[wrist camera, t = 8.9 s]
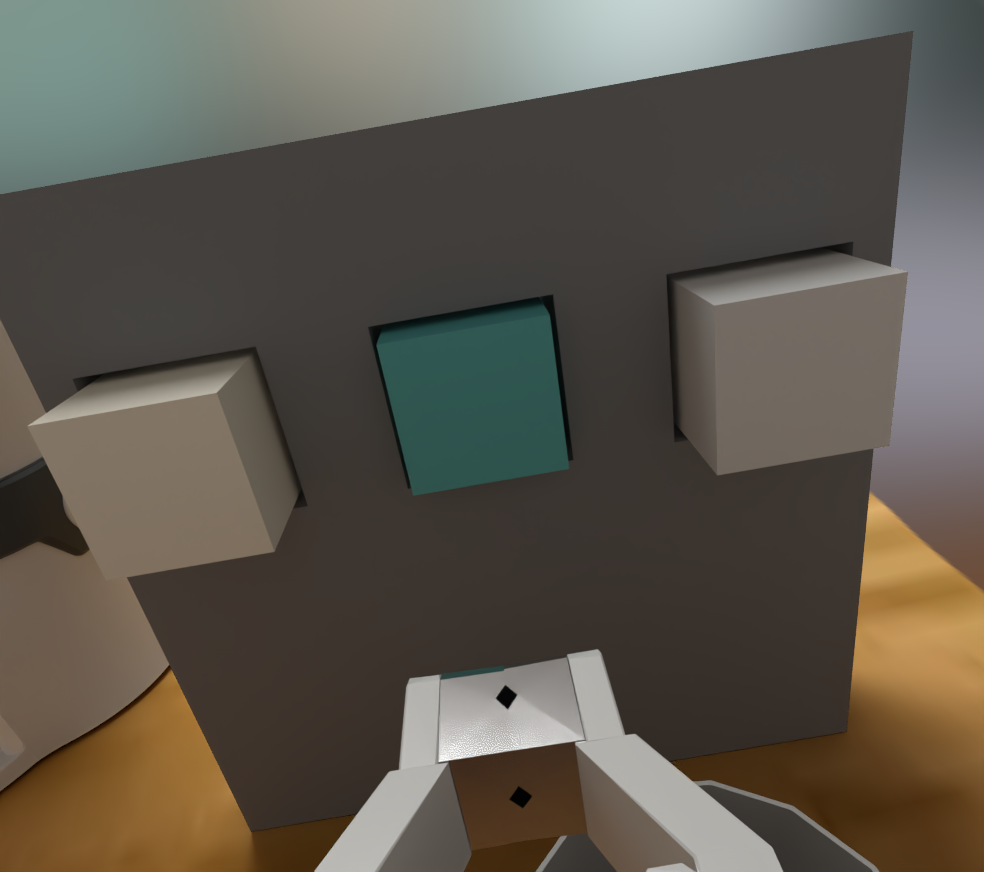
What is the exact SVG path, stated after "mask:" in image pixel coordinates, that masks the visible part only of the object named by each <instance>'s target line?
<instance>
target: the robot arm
mask: <svg viewBox="0 0 984 872" xmlns="http://www.w3.org/2000/svg"><path fill="white" fill-rule="evenodd" d="M44 414H46V412H45V410H44V408H43V406H42V403H41V401H40V399H39V397H38V395H37V393H36V391H35V389H34V387H33V385H32V383H31V381H30V379H29V377H28V375H27V373H26V371H25V369H24V367H23V365H22V363H21V361H20V359H19V357H18V354H17V352H16V350H15V348H14V346H13V344H12V342H11V340H10V338H9V336H8V334H7V332H6V330H5V328H4V326H3V324H2V322H1V320H0V791H1V790H3V789H4V788H5V787H6V786H8V785H9V784H10V783H12V782H13V781H14V780H15V779H17V778H18V777H19V776H20V775H22V774H23V773H24V772H25V771H27V770H28V769H29V768H30V767H31V766H33V765H34V764H35V763H36V762H37V761H39V760H40V759H42V758H43V757H45V756H46V755H48V754H49V753H51V752H53V751H54V750H56V749H58V748H59V747H61V746H63V745H65V744H67V743H69V742H70V741H72V740H74V739H76V738H78V737H79V736H81V735H83V734H85V733H87V732H88V731H90V730H92V729H93V728H95V727H97V726H98V725H100V724H101V723H103V722H104V721H106V720H107V719H109V718H110V717H112V716H113V715H115V714H116V713H117V712H119V711H120V710H121V709H123V708H124V707H125V706H127V705H128V704H129V703H131V702H132V701H133V700H134V699H136V698H137V697H138V696H139V695H140V694H141V693H142V692H144V691H145V690H146V689H147V688H148V687H149V686H150V685H151V684H152V683H153V682H154V681H155V680H156V679H157V678H158V677H159V676H160V675H161V674H162V673H163V672H164V670H165V669H166V668H167V667H168V666H169V663H168V661H167V659H166V657H165V655H164V653H163V651H162V648H161V646H160V644H159V642H158V640H157V638H156V636H155V634H154V632H153V630H152V628H151V626H150V624H149V622H148V620H147V618H146V616H145V614H144V612H143V610H142V608H141V606H140V604H139V602H138V599H137V597H136V595H135V593H134V591H133V589H132V587H131V585H130V583H129V581H128V579H127V577H126V578H120V579H114V580H108V581H106V580H105V578H104V576H103V574H102V572H101V570H100V568H99V566H98V564H97V562H96V560H95V558H94V556H93V554H92V552H91V550H90V549H89V547H88V545H87V543H86V541H85V539H84V537H83V535H82V533H81V531H80V529H79V527H78V525H77V523H76V521H75V519H74V517H73V515H72V513H71V511H70V509H69V507H68V505H67V503H66V501H65V499H64V497H63V495H62V493H61V491H60V489H59V487H58V485H57V484H56V482H55V480H54V478H53V476H52V474H51V472H50V470H49V468H48V466H47V464H46V462H45V460H44V458H43V456H42V454H41V452H40V450H39V448H38V446H37V444H36V442H35V440H34V438H33V436H32V434H31V432H30V430H29V428H28V425H30V424H31V423H33V422H34V421H36V420H37V419H39V418H40V417H41V416H43V415H44ZM584 833H588V837H589V838H590V839H591V840H592V842H593V843H594V844H595V845H596V847H597V848H598V849H599V850H600V851H601V853H602V854H603V855H604V856H605V858H606V859H607V860H608V861H609V863H610V864H611V865H612V866H613V868H614V869H615V870H616V871H617V872H783V870H782V868H781V866H780V863H779V861H778V859H777V857H776V855H775V852H774V850H773V848H772V847H771V846H770V845H769V844H768V843H767V842H765V841H764V840H763V839H762V838H760V837H759V836H758V835H757V834H756V833H754V832H753V831H752V830H751V829H750V828H748V827H747V826H746V825H745V824H744V823H742V822H741V821H740V820H739V819H738V818H736V817H735V816H734V815H733V814H732V813H730V812H729V811H728V810H727V809H726V808H724V807H723V806H722V805H721V804H719V803H718V802H717V801H716V800H715V799H713V798H712V797H711V796H710V795H709V794H707V793H706V792H705V791H704V790H703V789H701V788H700V787H699V786H698V785H697V784H695V783H694V782H693V781H692V780H691V779H689V778H688V777H687V776H686V775H684V774H683V773H682V772H681V771H680V770H678V769H677V768H676V767H675V766H674V765H672V764H671V763H670V762H669V761H668V760H666V759H665V758H664V757H663V756H662V755H660V754H659V753H658V752H657V751H656V750H654V749H653V748H652V747H651V746H650V745H648V744H647V743H646V742H645V741H643V740H642V739H641V738H640V737H639V736H637V735H636V734H630V735H625V732H624V729H623V725H622V722H621V718H620V715H619V712H618V708H617V705H616V701H615V698H614V695H613V691H612V688H611V684H610V681H609V677H608V674H607V671H606V667H605V664H604V660H603V657H602V654H601V652H600V651H599V650H598V649H597V650H591V651H585V652H579V653H573V654H567V657H566V655H563V656H557V657H551V658H545V659H538V660H532V661H526V662H520V663H514V664H508V665H504V666H497V667H489V668H481V669H474V670H466V671H458V672H451V673H443V674H442V675H434V676H426V677H417V678H410V679H409V681H408V684H407V686H406V696H405V707H404V718H403V729H402V740H401V751H400V762H399V770H395V771H390V772H388V774H387V775H386V776H385V778H384V779H383V780H382V782H381V783H380V784H379V786H378V787H377V788H376V790H375V791H374V792H373V794H372V795H371V796H370V798H369V799H368V800H367V802H366V803H365V804H364V806H363V807H362V808H361V810H360V811H359V812H358V814H357V815H356V816H355V818H354V819H353V820H352V822H351V823H350V824H349V826H348V827H347V828H346V830H345V831H344V832H343V834H342V835H341V836H340V838H339V839H338V840H337V842H336V843H335V844H334V846H333V847H332V848H331V850H330V851H329V852H328V854H327V855H326V856H325V858H324V859H323V860H322V862H321V863H320V864H319V866H318V867H317V868H316V870H315V871H314V872H464V870H465V868H466V866H467V864H468V862H469V860H470V857H471V855H472V854H471V851H472V850H478V849H483V848H489V847H494V846H499V845H505V844H510V843H516V842H521V841H527V840H534V839H542V838H551V837H559V836H567V835H575V834H584Z"/></svg>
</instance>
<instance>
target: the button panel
mask: <svg viewBox="0 0 984 872" xmlns="http://www.w3.org/2000/svg"><path fill="white" fill-rule="evenodd" d="M912 38H913V31H910V32H905V33H899V34H894V35H888V36H883V37H877V38H871V39H866V40H860V41H854V42H849V43H843V44H838V45H832V46H826V47H821V48H815V49H810V50H804V51H799V52H793V53H787V54H782V55H776V56H771V57H765V58H759V59H754V60H749V61H743V62H737V63H732V64H726V65H721V66H715V67H709V68H704V69H698V70H692V71H687V72H681V73H676V74H670V75H664V76H659V77H653V78H648V79H642V80H637V81H631V82H625V83H620V84H614V85H609V86H603V87H598V88H592V89H586V90H581V91H575V92H570V93H564V94H558V95H553V96H547V97H542V98H536V99H531V100H525V101H519V102H514V103H508V104H503V105H497V106H492V107H486V108H480V109H475V110H469V111H464V112H458V113H452V114H447V115H441V116H436V117H430V118H425V119H419V120H414V121H408V122H402V123H397V124H391V125H385V126H381V127H374V128H369V129H363V130H358V131H352V132H346V133H341V134H335V135H329V136H324V137H319V138H313V139H307V140H302V141H296V142H290V143H285V144H279V145H274V146H268V147H263V148H257V149H251V150H246V151H240V152H235V153H229V154H224V155H218V156H212V157H207V158H201V159H196V160H190V161H184V162H180V163H173V164H168V165H162V166H157V167H151V168H145V169H140V170H135V171H129V172H123V173H117V174H112V175H106V176H101V177H96V178H89V179H84V180H78V181H73V182H67V183H62V184H56V185H51V186H45V187H40V188H34V189H28V190H22V191H18V192H11V193H6V194H0V320H1V322H2V324H3V326H4V328H5V330H6V332H7V334H8V336H9V338H10V340H11V342H12V344H13V346H14V348H15V350H16V352H17V354H18V357H19V359H20V361H21V363H22V365H23V367H24V369H25V371H26V373H27V375H28V377H29V379H30V381H31V383H32V385H33V387H34V389H35V391H36V393H37V395H38V397H39V399H40V401H41V403H42V406H43V408H44V410H45V412H46V413H47V412H49V411H50V410H52V409H53V408H55V407H56V406H58V405H59V404H61V403H62V402H64V401H65V400H67V399H68V398H70V397H71V396H73V395H74V394H76V393H77V392H79V391H80V390H82V389H83V388H85V387H86V386H87V385H89V384H90V383H92V382H93V381H95V380H96V379H98V378H99V377H101V376H102V375H104V374H105V373H108V372H114V371H120V370H125V369H131V368H137V367H142V366H148V365H154V364H160V363H165V362H171V361H177V360H182V359H188V358H194V357H199V356H205V355H211V354H216V353H222V352H228V351H233V350H239V349H245V348H250V347H256V349H257V352H258V355H259V358H260V361H261V364H262V367H263V370H264V373H265V377H266V380H267V383H268V386H269V389H270V392H271V395H272V398H273V401H274V404H275V407H276V410H277V413H278V416H279V419H280V422H281V425H282V429H283V432H284V435H285V438H286V441H287V444H288V447H289V450H290V453H291V456H292V459H293V462H294V465H295V468H296V471H297V474H298V477H299V481H300V484H301V487H302V488H301V491H300V493H299V495H298V498H297V500H296V502H295V505H294V507H293V510H292V512H291V514H290V517H289V519H288V521H287V524H286V526H285V528H284V531H283V533H282V535H281V538H280V540H279V543H278V545H277V547H276V550H275V552H271V553H265V554H259V555H253V556H247V557H242V558H236V559H230V560H224V561H218V562H213V563H207V564H201V565H195V566H189V567H184V568H178V569H172V570H166V571H161V572H155V573H149V574H143V575H137V576H132V577H127V579H128V581H129V583H130V585H131V587H132V589H133V591H134V593H135V595H136V597H137V599H138V602H139V604H140V606H141V608H142V610H143V612H144V614H145V616H146V618H147V620H148V622H149V624H150V626H151V628H152V630H153V632H154V634H155V636H156V638H157V640H158V642H159V644H160V646H161V648H162V651H163V653H164V655H165V657H166V659H167V661H168V663H169V665H170V667H171V669H172V671H173V673H174V675H175V677H176V679H177V681H178V683H179V685H180V687H181V689H182V691H183V693H184V695H185V697H186V699H187V702H188V704H189V706H190V708H191V710H192V712H193V714H194V716H195V718H196V720H197V722H198V724H199V726H200V728H201V730H202V732H203V734H204V736H205V738H206V740H207V742H208V744H209V746H210V748H211V751H212V753H213V755H214V757H215V759H216V761H217V763H218V765H219V767H220V769H221V771H222V773H223V775H224V777H225V779H226V781H227V783H228V785H229V787H230V789H231V791H232V793H233V795H234V797H235V800H236V802H237V804H238V806H239V808H240V810H241V812H242V814H243V816H244V818H245V820H246V822H247V824H248V826H249V828H250V830H251V831H257V830H263V829H269V828H275V827H281V826H287V825H293V824H299V823H305V822H311V821H317V820H323V819H329V818H335V817H341V816H347V815H353V814H358V812H359V811H360V810H361V808H362V807H363V806H364V804H365V803H366V802H367V800H368V799H369V798H370V796H371V795H372V794H373V792H374V791H375V790H376V788H377V787H378V786H379V784H380V783H381V782H382V780H383V779H384V778H385V776H386V775H387V774H388V772H390V771H395V770H399V762H400V751H401V740H402V729H403V718H404V707H405V696H406V686H407V684H408V681H409V679H410V678H417V677H426V676H434V675H442V674H443V673H451V672H458V671H466V670H474V669H481V668H489V667H497V666H504V665H508V664H514V663H520V662H526V661H532V660H538V659H545V658H551V657H557V656H563V655H566V657H567V654H573V653H579V652H585V651H591V650H597V649H598V650H599V651H600V652H601V654H602V657H603V660H604V664H605V667H606V671H607V674H608V677H609V681H610V684H611V688H612V691H613V695H614V698H615V701H616V705H617V708H618V712H619V715H620V718H621V722H622V725H623V729H624V732H625V735H630V734H636V735H637V736H639V737H640V738H641V739H642V740H643V741H645V742H646V743H647V744H648V745H650V746H651V747H652V748H653V749H654V750H656V751H657V752H658V753H659V754H660V755H662V756H663V757H664V758H665V759H666V760H668V761H674V760H680V759H686V758H692V757H698V756H704V755H710V754H716V753H722V752H728V751H734V750H739V749H745V748H751V747H757V746H763V745H769V744H775V743H781V742H787V741H793V740H799V739H805V738H811V737H817V736H823V735H829V734H835V733H841V732H846V731H847V720H848V710H849V699H850V689H851V678H852V668H853V657H854V647H855V637H856V626H857V616H858V605H859V595H860V584H861V574H862V563H863V553H864V542H865V532H866V521H867V511H868V500H869V489H870V479H871V468H872V457H873V449H868V450H862V451H856V452H850V453H845V454H839V455H833V456H827V457H821V458H816V459H810V460H804V461H798V462H792V463H787V464H781V465H775V466H769V467H763V468H758V469H752V470H746V471H740V472H734V473H729V474H723V475H717V474H716V473H715V472H714V471H713V469H712V468H711V467H710V466H709V465H708V463H707V462H706V461H705V460H704V458H703V457H702V456H701V455H700V453H699V452H698V451H697V450H696V448H695V447H694V446H693V445H692V444H691V442H690V441H689V440H688V439H687V437H686V436H685V435H684V434H683V432H682V431H681V430H680V429H679V427H678V426H677V425H676V424H675V423H674V421H673V402H672V382H671V361H670V340H669V319H668V299H667V278H666V274H671V273H677V272H683V271H688V270H694V269H700V268H705V267H711V266H717V265H722V264H728V263H734V262H739V261H745V260H751V259H756V258H762V257H768V256H774V255H779V254H785V253H791V252H796V251H802V250H808V249H813V248H819V247H822V248H825V249H829V250H832V251H836V252H839V253H843V254H847V255H850V256H854V257H857V258H861V259H864V260H868V261H871V262H875V263H879V264H882V265H886V266H889V267H891V258H892V248H893V238H894V227H895V217H896V207H897V206H896V205H897V196H898V195H897V194H898V185H899V175H900V165H901V154H902V143H903V133H904V122H905V112H906V102H907V90H908V80H909V70H910V60H911V49H912ZM535 297H540V299H541V301H542V303H543V304H544V306H545V308H546V309H547V311H548V313H549V314H550V321H551V329H552V337H553V345H554V352H555V360H556V368H557V376H558V384H559V392H560V400H561V408H562V416H563V424H564V432H565V440H566V447H567V455H568V463H569V469H566V470H560V471H554V472H548V473H542V474H537V475H531V476H525V477H519V478H514V479H508V480H502V481H496V482H490V483H485V484H479V485H473V486H467V487H462V488H456V489H450V490H444V491H438V492H433V493H427V494H421V495H415V496H413V492H412V488H411V484H410V480H409V476H408V472H407V468H406V464H405V460H404V456H403V452H402V448H401V444H400V440H399V435H398V431H397V427H396V423H395V419H394V415H393V411H392V407H391V403H390V399H389V395H388V391H387V387H386V383H385V378H384V374H383V370H382V366H381V362H380V358H379V354H378V350H377V346H376V345H377V342H378V339H379V336H380V333H381V331H382V328H383V325H384V324H387V323H393V322H398V321H404V320H410V319H415V318H421V317H427V316H432V315H438V314H444V313H449V312H455V311H461V310H467V309H472V308H478V307H484V306H489V305H495V304H501V303H506V302H512V301H518V300H523V299H529V298H535Z"/></svg>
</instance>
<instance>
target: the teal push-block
mask: <svg viewBox="0 0 984 872" xmlns="http://www.w3.org/2000/svg"><path fill="white" fill-rule="evenodd" d="M376 346H377V350H378V354H379V358H380V362H381V366H382V370H383V374H384V378H385V383H386V387H387V391H388V395H389V399H390V403H391V407H392V411H393V415H394V419H395V423H396V427H397V431H398V435H399V440H400V444H401V448H402V452H403V456H404V460H405V464H406V468H407V472H408V476H409V480H410V484H411V488H412V492H413V496H415V495H421V494H427V493H433V492H438V491H444V490H450V489H456V488H462V487H467V486H473V485H479V484H485V483H490V482H496V481H502V480H508V479H514V478H519V477H525V476H531V475H537V474H542V473H548V472H554V471H560V470H566V469H569V463H568V455H567V447H566V440H565V432H564V424H563V416H562V408H561V400H560V392H559V384H558V376H557V368H556V360H555V352H554V345H553V337H552V329H551V321H550V314H549V313H548V311H547V309H546V308H545V306H544V304H543V303H542V301H541V299H540V297H535V298H529V299H523V300H518V301H512V302H506V303H501V304H495V305H489V306H484V307H478V308H472V309H467V310H461V311H455V312H449V313H444V314H438V315H432V316H427V317H421V318H415V319H410V320H404V321H398V322H393V323H387V324H384V325H383V328H382V331H381V333H380V336H379V339H378V342H377V345H376Z"/></svg>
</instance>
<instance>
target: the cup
mask: <svg viewBox="0 0 984 872" xmlns="http://www.w3.org/2000/svg"><path fill="white" fill-rule="evenodd" d="M694 783H695V784H697V785H698V786H699V787H700V788H701V789H703V790H704V791H705V792H706V793H707V794H709V795H710V796H711V797H712V798H713V799H715V800H716V801H717V802H718V803H719V804H721V805H722V806H723V807H724V808H726V809H727V810H728V811H729V812H730V813H732V814H733V815H734V816H735V817H736V818H738V819H739V820H740V821H741V822H742V823H744V824H745V825H746V826H747V827H748V828H750V829H751V830H752V831H753V832H754V833H756V834H757V835H758V836H759V837H760V838H762V839H763V840H764V841H765V842H767V843H768V844H769V845H770V846H771V847H772V848H773V850H774V852H775V855H776V857H777V859H778V861H779V863H780V866H781V868H782V870H783V872H879V870H878V869H877V868H876V866H874V865H873V864H872V863H870V862H869V861H868V860H866V859H865V858H864V857H862V856H861V855H859V854H858V853H857V852H855V851H854V850H853V849H851V848H850V847H848V846H847V845H846V844H844V843H843V842H842V841H840V840H839V839H838V838H836V837H835V836H833V835H832V834H831V833H829V832H828V831H827V830H825V829H824V828H823V827H821V826H820V825H818V824H817V823H816V822H814V821H813V820H812V819H810V818H809V817H807V816H806V815H805V814H803V813H802V812H801V811H799V810H798V809H797V808H795V807H794V806H792V805H789V804H785V803H782V802H779V801H776V800H773V799H769V798H766V797H763V796H760V795H757V794H753V793H750V792H747V791H744V790H741V789H737V788H734V787H731V786H728V785H725V784H721V783H718V782H715V781H712V780H707V781H694ZM536 872H617V871H616V870H615V869H614V868H613V866H612V865H611V864H610V863H609V861H608V860H607V859H606V858H605V856H604V855H603V854H602V853H601V851H600V850H599V849H598V848H597V847H596V845H595V844H594V843H593V842H592V840H591V839H590V838H589V837H588V833H584V834H575V835H567V836H561V837H560V838H559V839H558V841H557V842H556V844H555V845H554V846H553V848H552V849H551V851H550V852H549V853H548V855H547V856H546V858H545V859H544V861H543V862H542V863H541V865H540V866H539V868H538V869H537V870H536Z"/></svg>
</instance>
